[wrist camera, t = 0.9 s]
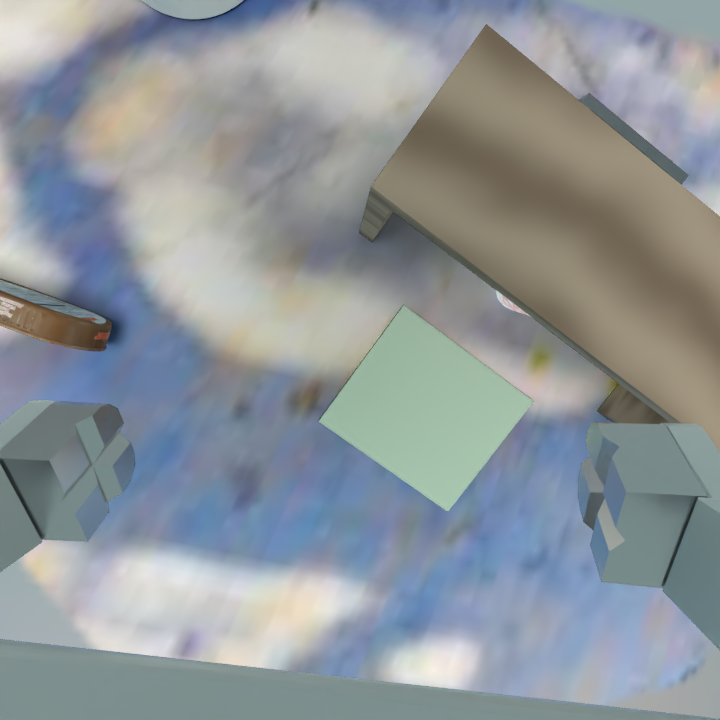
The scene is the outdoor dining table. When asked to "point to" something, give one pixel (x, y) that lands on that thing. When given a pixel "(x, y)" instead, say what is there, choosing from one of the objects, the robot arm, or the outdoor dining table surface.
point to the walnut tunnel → (567, 230)
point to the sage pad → (425, 409)
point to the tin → (51, 319)
